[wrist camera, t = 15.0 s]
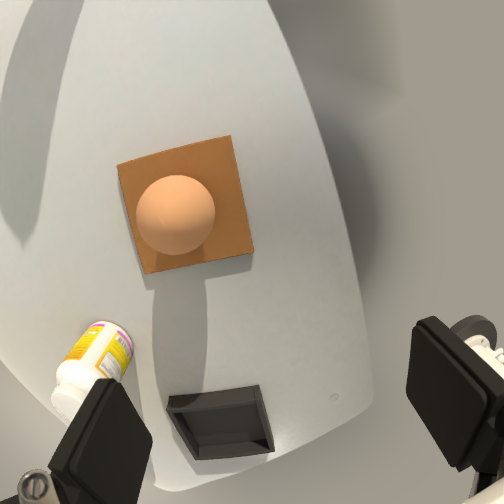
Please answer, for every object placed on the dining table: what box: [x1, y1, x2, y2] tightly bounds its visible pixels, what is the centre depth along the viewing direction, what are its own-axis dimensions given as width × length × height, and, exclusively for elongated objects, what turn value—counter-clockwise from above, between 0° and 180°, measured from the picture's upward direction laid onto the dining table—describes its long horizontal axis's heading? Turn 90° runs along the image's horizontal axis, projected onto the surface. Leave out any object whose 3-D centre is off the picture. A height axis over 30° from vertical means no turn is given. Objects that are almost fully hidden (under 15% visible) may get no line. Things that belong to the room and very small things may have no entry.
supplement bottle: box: [51, 321, 133, 422], centre depth 27 cm, size 7×7×13 cm
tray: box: [166, 385, 275, 460], centre depth 37 cm, size 12×12×3 cm
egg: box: [136, 175, 215, 255], centre depth 25 cm, size 7×7×9 cm
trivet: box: [117, 135, 254, 274], centre depth 29 cm, size 12×12×1 cm
